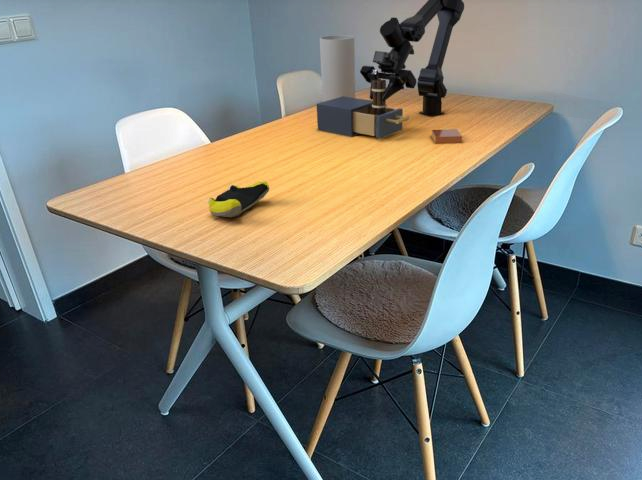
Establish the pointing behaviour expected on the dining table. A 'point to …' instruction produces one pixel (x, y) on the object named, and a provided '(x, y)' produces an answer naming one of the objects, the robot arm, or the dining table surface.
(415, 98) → the dining table surface
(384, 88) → the bundle
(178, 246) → the dining table surface
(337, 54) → the cylinder vase
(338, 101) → the cabinet
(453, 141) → the stand
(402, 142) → the dining table surface
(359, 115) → the drawer
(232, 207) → the black and yellow sneaker
